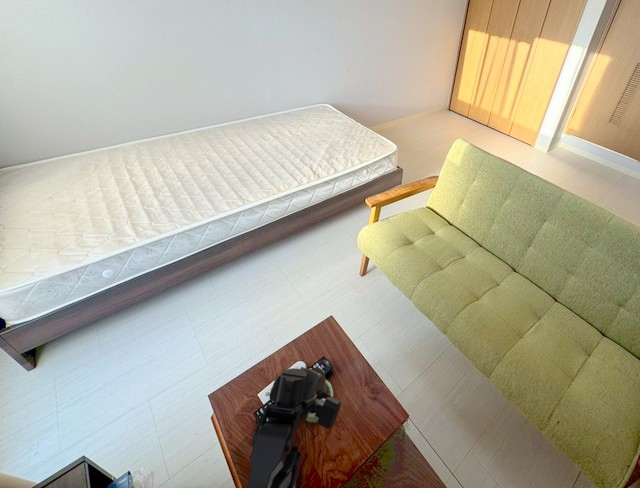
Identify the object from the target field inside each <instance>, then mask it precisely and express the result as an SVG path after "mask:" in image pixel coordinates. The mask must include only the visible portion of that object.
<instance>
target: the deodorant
mask: <svg viewBox="0 0 640 488" xmlns="http://www.w3.org/2000/svg"><path fill="white" fill-rule="evenodd" d="M310 369H311V370H313V371H316V372H318V373H320V374H321V375H322V379H321V381H320V383H319V386H318V388H317V390H316V395H317V396H316V399H318V400H320V399H321V397H322V394H323V392H325V391H326V380H327V378H326V373H325V372H324V370H323V369H322V368H320V367H312V368H310ZM310 412H311V413H316V411H314V410H311V411H310Z"/></svg>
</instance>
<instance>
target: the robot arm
mask: <svg viewBox="0 0 640 488" xmlns="http://www.w3.org/2000/svg"><path fill="white" fill-rule="evenodd" d="M311 369H312V368H307V367H304V366H301V367H300V368H292V367H291V368H287V369H284V370H283V371H282V372H281V373H280V374H278V376H276V378H275V379H274V382H273V384H272V387H271V389H270V392H269V394H268V396H269V401H271V402H273V403H275V404H270V403H268V404H267V405H266V407H265V409H264V412H263V413H262V412H261V414H260V416H259V418H258V421H257V424H256V426H255V429H254V432H253V434H252V437H251V452H250V455H249V461H250V472H249V476H248V480H247V482H246V484H245V487H244V488H296V487H298V486H299V484H300V483H301V481H302V479H301V477H300V474H299V473H300V469H301V467H302V455H303V452H302V451H299V450H300V446H299V445H298V444H294V442H295V438H296V434H297V431H298V430H299V428H300V427H301V425H302V422H303V421H306V419H307V416H308V413H309V412H310V411H311V410H314V411H316V414H315V416H316V417H318V418H319V419H318V422H316V423H317V425H319V426H321V427H323V428H324V429H326V430H331V429H333V427H334V426H335V424H336V421H337V417H338V415H339V412H340V409H341V406H342V402H341V400H339V399H337V398H335V397H334V396H333V397H332V396H330V395H328V390H326V391H325V392H323V394H322V397H321V399H320V400H318V399H316V396H317V395H316V390H317V388H318V386H319V383H320V381H321V379H322V375H321V374H320V373H318V372H316V371H313V370H311ZM268 418H269V419H270V420H268Z"/></svg>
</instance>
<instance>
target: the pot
mask: <svg viewBox="0 0 640 488" xmlns="http://www.w3.org/2000/svg"><path fill="white" fill-rule="evenodd" d="M326 390H328V395H330V396H332V397H333V398H334V390H333V385H332V384H331V383H330V381H329V380H327V379H326ZM315 414H316V413H311V412H309V413H308V416H307V419H306V420H305V421H306V422H309V423H317V422H318V419H319V418H318V417H316V416H315Z"/></svg>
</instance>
